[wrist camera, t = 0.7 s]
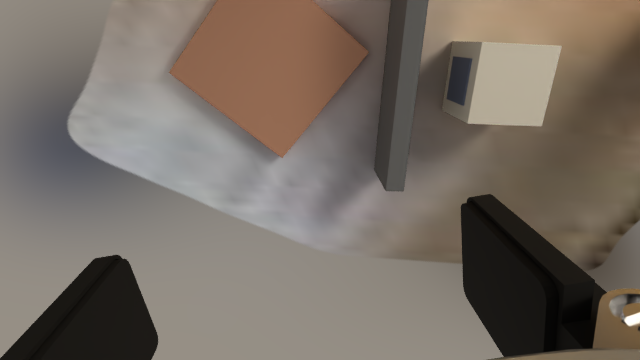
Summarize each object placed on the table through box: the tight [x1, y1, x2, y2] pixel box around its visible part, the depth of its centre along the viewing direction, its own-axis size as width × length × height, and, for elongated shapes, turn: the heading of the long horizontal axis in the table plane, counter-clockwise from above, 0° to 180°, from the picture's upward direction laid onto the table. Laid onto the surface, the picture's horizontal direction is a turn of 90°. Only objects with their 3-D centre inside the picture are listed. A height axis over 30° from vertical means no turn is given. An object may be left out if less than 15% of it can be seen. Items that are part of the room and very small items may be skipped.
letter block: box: [442, 41, 562, 126], centre depth 32 cm, size 6×6×6 cm
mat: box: [169, 0, 369, 158], centre depth 33 cm, size 12×12×1 cm
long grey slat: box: [374, 0, 428, 191], centre depth 31 cm, size 18×2×6 cm, turn 177°
